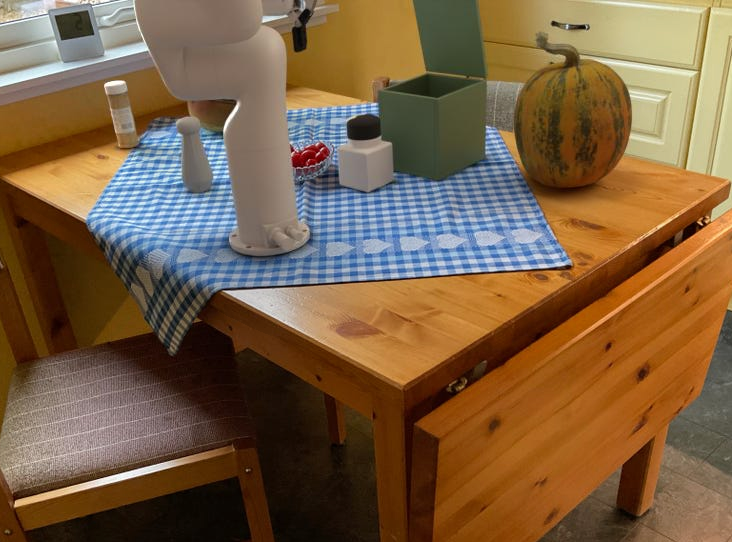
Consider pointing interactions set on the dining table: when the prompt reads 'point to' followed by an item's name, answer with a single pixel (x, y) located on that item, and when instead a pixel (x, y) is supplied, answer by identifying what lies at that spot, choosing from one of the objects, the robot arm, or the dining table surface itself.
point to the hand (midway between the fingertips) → (276, 50)
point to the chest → (434, 124)
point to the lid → (451, 37)
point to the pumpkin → (571, 119)
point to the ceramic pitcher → (212, 112)
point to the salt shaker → (193, 156)
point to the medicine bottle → (365, 155)
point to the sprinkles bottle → (121, 114)
